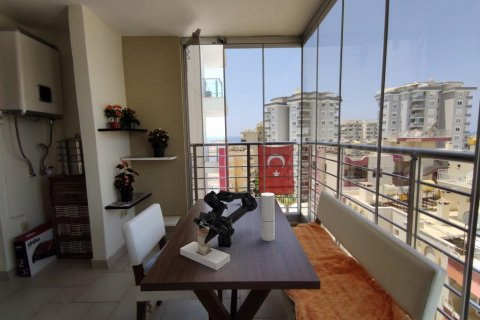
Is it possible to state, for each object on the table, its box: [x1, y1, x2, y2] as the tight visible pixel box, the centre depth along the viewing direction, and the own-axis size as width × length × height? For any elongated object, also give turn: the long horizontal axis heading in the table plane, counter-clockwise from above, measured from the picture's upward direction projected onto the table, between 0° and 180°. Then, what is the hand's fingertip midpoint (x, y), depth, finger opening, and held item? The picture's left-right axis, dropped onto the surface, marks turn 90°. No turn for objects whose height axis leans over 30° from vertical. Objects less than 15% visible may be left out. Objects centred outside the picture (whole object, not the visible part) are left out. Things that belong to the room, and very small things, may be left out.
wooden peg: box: [196, 228, 211, 256], centre depth 109 cm, size 4×4×12 cm
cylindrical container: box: [260, 192, 276, 242], centre depth 127 cm, size 7×7×25 cm
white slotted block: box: [179, 241, 231, 271], centre depth 110 cm, size 9×24×3 cm, turn 53°
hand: (201, 242), depth 108 cm, fingers closed on wooden peg, 4 cm apart
